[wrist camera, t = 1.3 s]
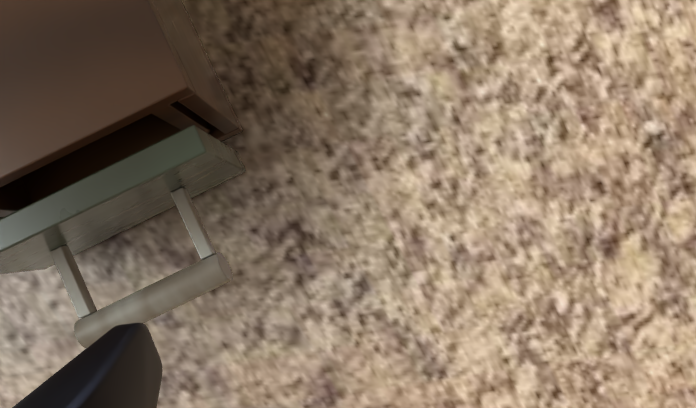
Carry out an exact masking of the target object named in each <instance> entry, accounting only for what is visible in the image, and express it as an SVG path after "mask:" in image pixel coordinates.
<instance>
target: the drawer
mask: <svg viewBox="0 0 696 408" xmlns="http://www.w3.org/2000/svg"><path fill="white" fill-rule="evenodd" d="M208 133H210V129H209V126H208V124H207V122H206V120H204V119H203V118H201V117H200V116H199V115H197V114H196V113H194V112H193V111H191V110H190V109H188V108H187V107H186V106H184V105H183V104H181V103H180V102H178V101H176V102H174V103H172V104H170V105H168V106H166V107H164V108H162V109H160V110H158V111H156V112H153V113H151V114H149V115H147V116H145V117H143V118H141V119H139V120H137V121H135V122H133V123H131V124H129V125H127V126H125V127H123V128H121V129H119V130H117V131H115V132H113V133H110V134H108V135H106V136H104V137H102V138H100V139H98V140H96V141H94V142H92V143H90V144H88V145H86V146H84V147H82V148H80V149H78V150H76V151H74V152H72V153H70V154H67V155H65V156H63V157H61V158H59V159H57V160H55V161H53V162H51V163H49V164H47V165H45V166H43V167H41V168H39V169H37V170H35V171H33V172H31V173H29V174H27V175H24V176H22V177H20V178H18V179H16V180H14V181H12V182H10V183H8V184H6V185H4V186H2V187H0V217H3V218H1V219H0V274H8V273H16V272H24V271H33V270H41V269H46V268H48V267H50V266H52V265H54V264H55V265H56V267H57V270H58V272H59V274H60V276H61V279H62V281H63V283H64V285H65V288H66V290H67V292H68V295H69V297H70V299H71V301H72V304H73V306H74V308H75V310H76V313H77V315H78V317H79V318H81V319H79V320H78V321H77V322H76V323H75V326H74V332H75V336H76V338H77V340H78V342H79V343H80V344H81V345H82V346H83V347H85V348H88V347H89V346H90V345H92V344H93V343H94V342H95V341H97V340H98V339H99V338H100V337H102V336H103V335H104V334H105V333H107V332H108V331H109V330H110V329H112V328H113V327H115V326H117V325H122V324H130V323H145V322H147V321H149V320H151V319H153V318H155V317H157V316H160V315H162V314H164V313H166V312H168V311H170V310H172V309H174V308H176V307H178V306H180V305H182V304H184V303H186V302H188V301H190V300H193V299H195V298H197V297H199V296H201V295H203V294H205V293H207V292H209V291H211V290H213V289H215V288H217V287H219V286H221V285H223V284H226V283H228V282H230V281H232V279H233V274H232V270H231V267H230V265H229V263H228V261H227V259H226V258H225V257H224V255H223V254H222V253H220V252H217V253H216V251H215V249H214V247H213V245H212V243H211V241H210V239H209V236H208V234H207V232H206V230H205V228H204V226H203V223H202V221H201V219H200V217H199V215H198V213H197V210H196V208H195V206H194V204H193V202H192V200H191V198H192V197H194V196H196V195H198V194H200V193H202V192H204V191H207V190H209V189H211V188H213V187H215V186H217V185H219V184H221V183H223V182H225V181H227V180H229V179H231V178H233V177H235V176H237V175H239V174H241V173H244V172H245V168H244V166H243V163H242V161H241V159H240V157H239V155H238V153H237V151H235V150H234V149H232V148H231V147H229V146H227V145H226V144H224V143H223V142H221V141H219V140H218V139H216V138H214V137H213V136H211V135H210V134H208ZM174 206H177V208H178V211H179V213H180V215H181V217H182V219H183V221H184V224H185V226H186V228H187V230H188V232H189V235H190V237H191V239H192V241H193V243H194V245H195V248H196V250H197V252H198V254H199V256H200V258H201V259H203V260H201V261H199V262H197V263H195V264H193V265H191V266H189V267H187V268H184V269H182V270H180V271H178V272H176V273H174V274H172V275H170V276H168V277H166V278H164V279H162V280H160V281H158V282H156V283H154V284H151V285H149V286H147V287H145V288H143V289H141V290H139V291H137V292H135V293H133V294H131V295H129V296H127V297H125V298H123V299H121V300H119V301H116V302H114V303H112V304H110V305H108V306H106V307H104V308H102V309H100V310H98V311H97V309H96V307H95V305H94V302H93V300H92V298H91V296H90V293H89V291H88V289H87V287H86V284H85V282H84V280H83V278H82V275H81V273H80V271H79V269H78V266H77V264H76V262H75V259H74V257H73V255H75V254H77V253H79V252H81V251H83V250H85V249H87V248H89V247H91V246H93V245H96V244H98V243H100V242H102V241H104V240H106V239H108V238H110V237H112V236H114V235H116V234H118V233H120V232H122V231H124V230H126V229H128V228H130V227H133V226H135V225H137V224H139V223H141V222H143V221H145V220H147V219H149V218H151V217H153V216H155V215H157V214H159V213H161V212H163V211H165V210H167V209H170V208H172V207H174Z"/></svg>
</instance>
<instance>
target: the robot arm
mask: <svg viewBox="0 0 696 408" xmlns="http://www.w3.org/2000/svg"><path fill="white" fill-rule="evenodd" d="M161 379H162V363H161V359H160V356H159V354H158V352H157V349H156V347H155V344H154V342H153V340H152V337H151V335H150V332H149V330H148V328H147V327H146V326H145V325H144V324H143V323H130V324H122V325H117V326H115V327H113V328H112V329H110V330H109V331H108V332H107V333H105V334H104V335H103V336H102V337H100V338H99V339H98V340H97V341H95V342H94V343H93V344H92V345H90V346H89V347H88V348H87V349H85V350H84V351H83V352H82V353H80V354H79V355H78V356H77V357H75V358H74V359H73V360H72V361H70V362H69V363H68V364H67V365H65V366H64V367H63V368H61V369H60V370H59V371H58V372H56V373H55V374H54V375H53V376H51V377H50V378H49V379H48V380H46V381H45V382H44V383H43V384H41V385H40V386H39V387H38V388H36V389H35V390H34V391H33V392H31V393H30V394H29V395H28V396H26V397H25V398H24V399H23V400H21V401H20V402H19V403H18V404H16V405H15V406H14V407H13V408H156V407H157V401H158V396H159V390H160V385H161Z"/></svg>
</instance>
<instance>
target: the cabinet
mask: <svg viewBox="0 0 696 408" xmlns="http://www.w3.org/2000/svg"><path fill="white" fill-rule="evenodd" d="M176 101H178V102H180V103H181V104H183V105H184V106H186V107H187V108H188V109H190V110H191V111H193V112H194V113H196V114H197V115H199V116H200V117H201V118H203V119H204V120H206V122H207V124H208V126H209V129H210V133H208V134H210V135H211V136H213V137H214V138H216V139H218V140H219V141H223V140H225V139H227V138H229V137H231V136H234V135H236V134H238V133H240V132H242V131H243V130H242V128H241V126H240V123H239V121H238V119H237V117H236V115H235V113H234V111H233V109H232V107H231V105H230V102H229V100H228V98H227V96H226V94H225V92H224V90H223V88H222V86H221V83H220V81H219V79H218V77H217V75H216V73H215V71H214V69H213V67H212V65H211V62H210V60H209V58H208V56H207V54H206V52H205V50H204V48H203V46H202V43H201V41H200V39H199V37H198V35H197V33H196V31H195V29H194V27H193V24H192V22H191V20H190V18H189V16H188V14H187V12H186V10H185V8H184V6H183V3H182V1H181V0H0V187H2V186H4V185H6V184H8V183H10V182H12V181H14V180H16V179H18V178H20V177H22V176H24V175H27V174H29V173H31V172H33V171H35V170H37V169H39V168H41V167H43V166H45V165H47V164H49V163H51V162H53V161H55V160H57V159H59V158H61V157H63V156H65V155H67V154H70V153H72V152H74V151H76V150H78V149H80V148H82V147H84V146H86V145H88V144H90V143H92V142H94V141H96V140H98V139H100V138H102V137H104V136H106V135H108V134H110V133H113V132H115V131H117V130H119V129H121V128H123V127H125V126H127V125H129V124H131V123H133V122H135V121H137V120H139V119H141V118H143V117H145V116H147V115H149V114H151V113H153V112H156V111H158V110H160V109H162V108H164V107H166V106H168V105H170V104H172V103H174V102H176ZM1 218H3V217H0V219H1Z"/></svg>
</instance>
